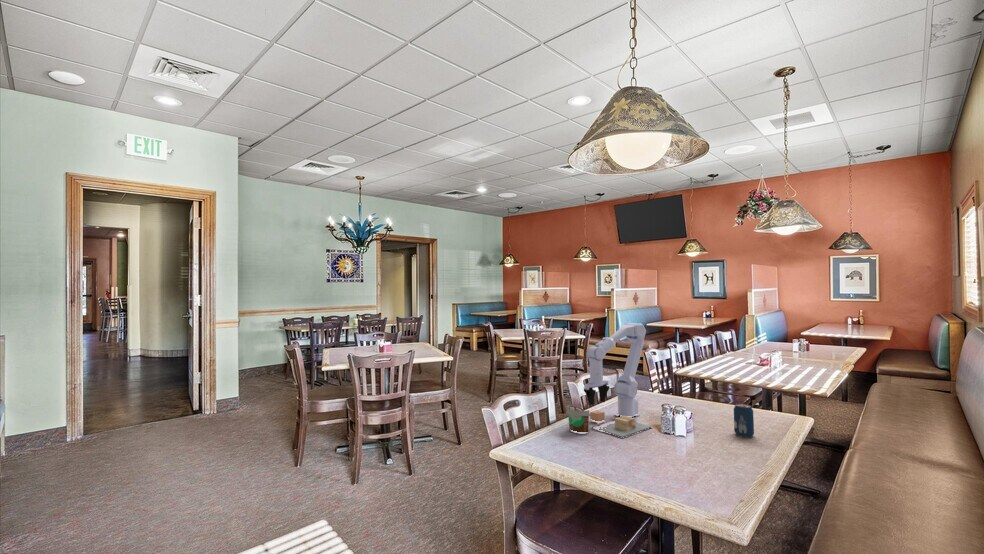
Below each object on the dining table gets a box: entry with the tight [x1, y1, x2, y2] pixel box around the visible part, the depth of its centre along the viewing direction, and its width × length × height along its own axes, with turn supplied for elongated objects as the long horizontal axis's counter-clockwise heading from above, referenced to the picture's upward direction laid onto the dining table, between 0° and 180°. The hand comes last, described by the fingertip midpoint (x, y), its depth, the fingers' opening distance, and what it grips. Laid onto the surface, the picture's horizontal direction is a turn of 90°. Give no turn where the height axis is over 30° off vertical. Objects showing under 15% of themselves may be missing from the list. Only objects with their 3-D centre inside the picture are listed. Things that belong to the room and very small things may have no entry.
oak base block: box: [614, 416, 637, 431], centre depth 188 cm, size 6×6×4 cm
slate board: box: [599, 422, 652, 439], centre depth 190 cm, size 20×16×1 cm
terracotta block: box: [589, 409, 606, 421], centre depth 200 cm, size 4×4×4 cm
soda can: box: [733, 403, 755, 438], centre depth 179 cm, size 7×7×12 cm
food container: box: [566, 403, 590, 433], centre depth 187 cm, size 12×6×10 cm, turn 25°
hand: (597, 403), depth 200 cm, fingers open, 7 cm apart
